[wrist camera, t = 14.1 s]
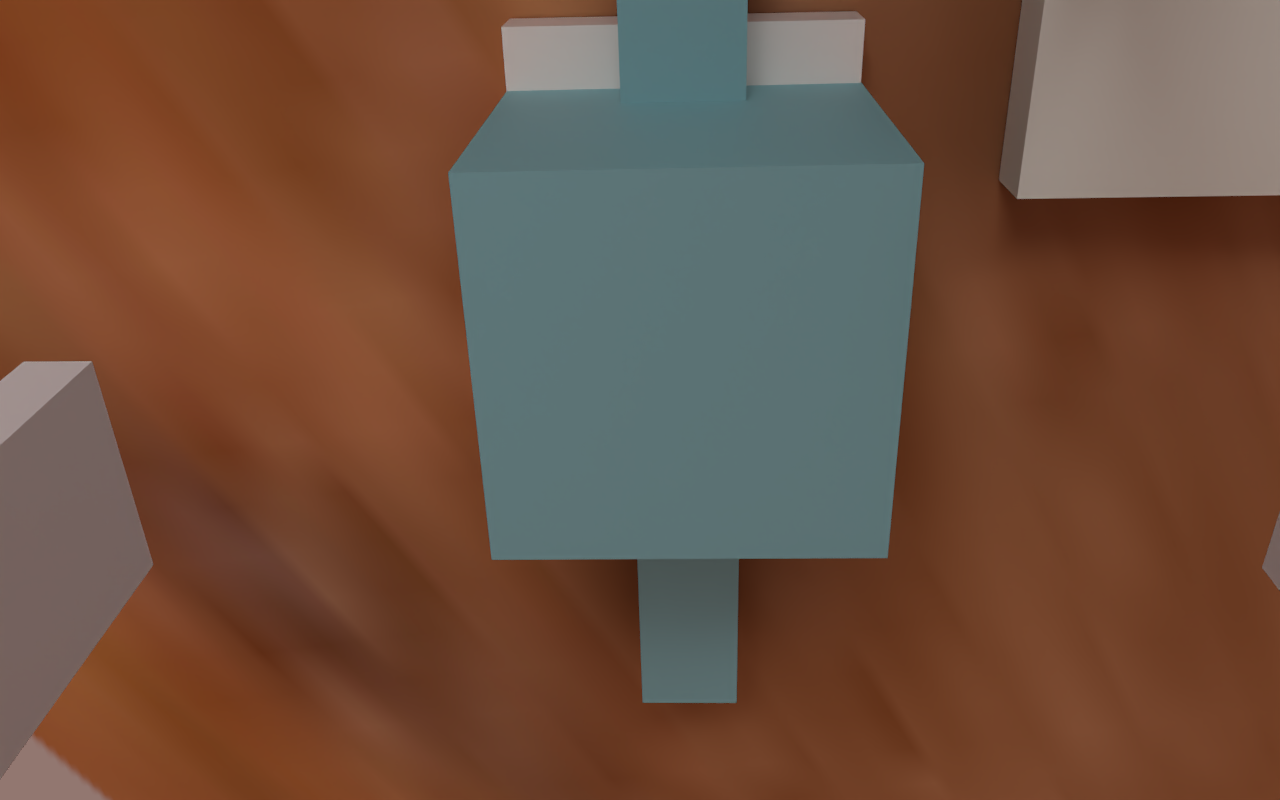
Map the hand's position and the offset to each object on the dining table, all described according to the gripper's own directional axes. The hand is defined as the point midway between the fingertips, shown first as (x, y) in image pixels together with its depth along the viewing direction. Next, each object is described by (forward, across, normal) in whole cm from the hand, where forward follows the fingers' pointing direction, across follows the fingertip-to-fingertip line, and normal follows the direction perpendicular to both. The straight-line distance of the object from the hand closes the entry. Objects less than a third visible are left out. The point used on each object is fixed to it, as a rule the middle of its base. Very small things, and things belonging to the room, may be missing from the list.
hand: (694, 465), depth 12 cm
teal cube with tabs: (+8, 0, -1) cm, 8 cm away
